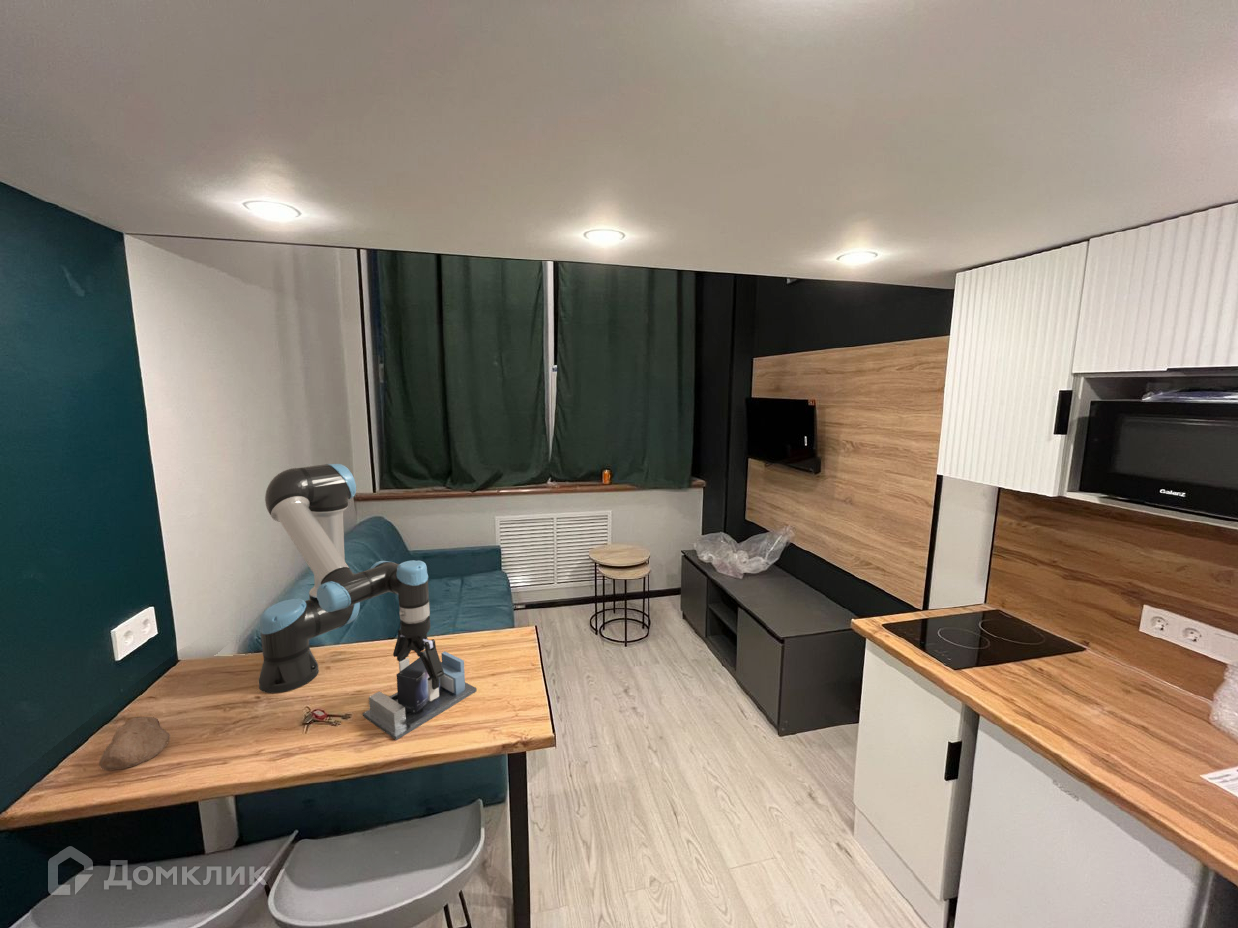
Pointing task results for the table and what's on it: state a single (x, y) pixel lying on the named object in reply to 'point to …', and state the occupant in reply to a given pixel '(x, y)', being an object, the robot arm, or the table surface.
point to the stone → (134, 743)
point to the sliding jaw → (452, 673)
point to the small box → (413, 687)
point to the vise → (400, 722)
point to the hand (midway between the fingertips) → (419, 689)
